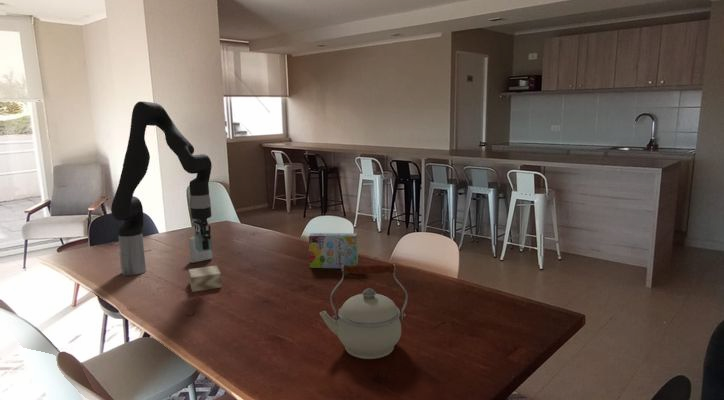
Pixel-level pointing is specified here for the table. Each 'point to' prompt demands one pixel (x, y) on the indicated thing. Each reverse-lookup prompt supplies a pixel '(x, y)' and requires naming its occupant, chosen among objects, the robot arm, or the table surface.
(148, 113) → the robot arm
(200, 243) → the teal block
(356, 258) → the snack box
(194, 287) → the birch block
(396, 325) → the kettle
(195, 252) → the photo printer
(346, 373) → the table surface
